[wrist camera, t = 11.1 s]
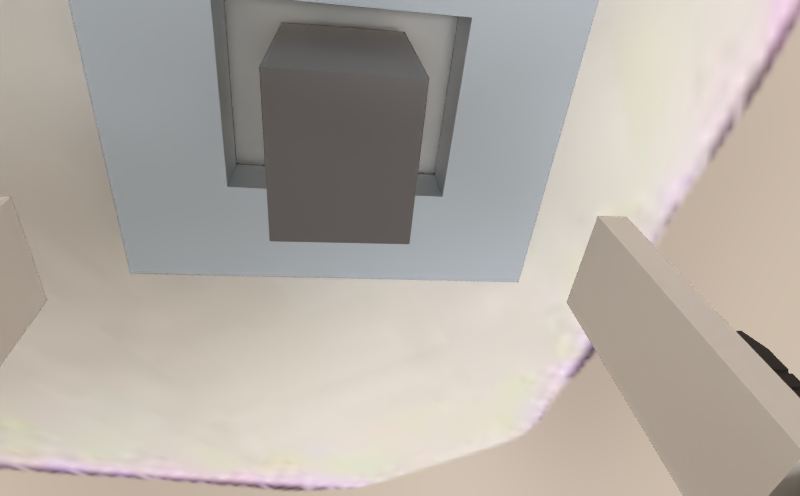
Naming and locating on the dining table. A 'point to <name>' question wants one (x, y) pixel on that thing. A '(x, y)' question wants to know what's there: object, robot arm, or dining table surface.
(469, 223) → the socket plate
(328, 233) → the plug
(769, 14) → the dining table surface
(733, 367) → the robot arm
